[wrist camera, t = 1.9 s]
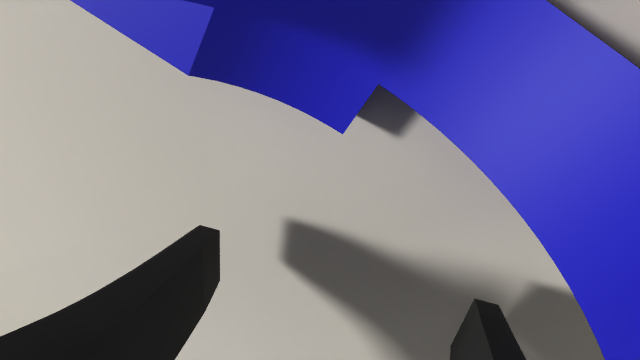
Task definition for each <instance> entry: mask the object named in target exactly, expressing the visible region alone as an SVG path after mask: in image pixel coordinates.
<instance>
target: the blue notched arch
mask: <svg viewBox="0 0 640 360" xmlns="http://www.w3.org/2000/svg"><path fill="white" fill-rule="evenodd" d="M71 1H72V2H74V3H75V4H77V5H79V6H80V7H82V8H83V9H85V10H86V11H88V12H90V13H91V14H93V15H94V16H96V17H97V18H99V19H101V20H102V21H104V22H105V23H107V24H108V25H110V26H111V27H113V28H115V29H116V30H118V31H119V32H121V33H122V34H124V35H126V36H127V37H129V38H130V39H132V40H133V41H135V42H137V43H138V44H140V45H141V46H143V47H144V48H146V49H148V50H149V51H151V52H152V53H154V54H155V55H157V56H159V57H160V58H162V59H163V60H165V61H166V62H168V63H170V64H171V65H173V66H174V67H176V68H177V69H179V70H181V71H182V72H184V73H185V74H187V75H188V76H195V77H200V78H205V79H210V80H215V81H219V82H223V83H227V84H231V85H235V86H239V87H242V88H245V89H248V90H251V91H254V92H257V93H260V94H263V95H265V96H268V97H271V98H273V99H276V100H278V101H281V102H283V103H285V104H287V105H290V106H292V107H294V108H296V109H298V110H300V111H302V112H304V113H306V114H308V115H310V116H312V117H314V118H316V119H318V120H320V121H321V122H323V123H325V124H326V125H328V126H330V127H332V128H333V129H335V130H337V131H338V132H340V133H341V134H343V133H344V132H345V130H346V129H347V127H348V126H349V125H350V123H351V122H352V120H353V119H354V118H355V116H356V115H357V113H358V112H359V111H360V109H361V108H362V106H363V105H364V104H365V102H366V101H367V99H368V98H369V96H370V95H371V94H372V92H373V91H374V89H375V88H376V87H377V85H378V84H379V85H381V86H382V87H384V88H385V89H387V90H388V91H389V92H391V93H392V94H394V95H395V96H396V97H398V98H399V99H401V100H402V101H403V102H405V103H406V104H407V105H409V106H410V107H411V108H412V109H414V110H415V111H416V112H418V113H419V114H420V115H421V116H423V117H424V118H425V119H426V120H428V121H429V122H430V123H431V124H432V125H433V126H435V127H436V128H437V129H438V130H439V131H441V132H442V133H443V134H444V135H445V136H446V137H447V138H448V139H449V140H451V141H452V142H453V143H454V144H455V145H456V146H457V147H458V148H459V149H460V150H461V151H462V152H463V153H464V154H465V155H466V156H468V157H469V158H470V159H471V160H472V161H473V162H474V163H475V164H476V165H477V166H478V168H479V169H480V170H481V171H482V172H483V173H484V174H485V175H486V176H487V177H488V178H489V179H490V180H491V181H492V182H493V183H494V185H495V186H496V187H497V188H498V189H499V190H500V191H501V193H502V194H503V195H504V196H505V197H506V198H507V199H508V201H509V202H510V203H511V204H512V205H513V207H514V208H515V209H516V210H517V212H518V213H519V214H520V215H521V217H522V218H523V219H524V220H525V222H526V223H527V224H528V226H529V227H530V228H531V230H532V231H533V232H534V234H535V235H536V236H537V238H538V239H539V241H540V242H541V243H542V245H543V246H544V248H545V249H546V251H547V252H548V254H549V255H550V257H551V258H552V260H553V261H554V263H555V264H556V266H557V267H558V269H559V271H560V272H561V274H562V276H563V277H564V279H565V280H566V282H567V284H568V285H569V287H570V289H571V291H572V292H573V294H574V296H575V298H576V300H577V302H578V303H579V305H580V307H581V309H582V311H583V312H584V315H585V317H586V319H587V321H588V323H589V325H590V327H591V329H592V331H593V333H594V335H595V337H596V339H597V342H598V344H599V346H600V349H601V351H602V353H603V356H604V358H605V360H640V68H638V67H637V66H636V65H634V64H633V63H632V62H630V61H629V60H627V59H626V58H625V57H623V56H622V55H621V54H619V53H618V52H617V51H615V50H614V49H612V48H611V47H610V46H608V45H607V44H606V43H604V42H603V41H601V40H600V39H599V38H597V37H596V36H595V35H593V34H592V33H590V32H589V31H588V30H586V29H585V28H584V27H582V26H581V25H579V24H578V23H577V22H575V21H574V20H573V19H571V18H570V17H569V16H567V15H566V14H564V13H563V12H562V11H560V10H559V9H558V8H556V7H555V6H553V5H552V4H551V3H549V2H548V1H547V0H71Z"/></svg>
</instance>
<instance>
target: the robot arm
mask: <svg viewBox="0 0 640 360" xmlns="http://www.w3.org/2000/svg"><path fill="white" fill-rule="evenodd" d="M219 281H220V230H216V229H212V228H208V227H205V226H201V225H199V226H198V227H196V228H195V229H193V230H192V231H190V232H189V233H187V234H186V235H184V236H183V237H181V238H180V239H178V240H177V241H176V242H174V243H173V244H171V245H170V246H168V247H167V248H165V249H164V250H162V251H161V252H159V253H158V254H156V255H155V256H153V257H152V258H150V259H149V260H147V261H146V262H144V263H143V264H141V265H140V266H138V267H136V268H135V269H133V270H132V271H130V272H128V273H127V274H125V275H123V276H122V277H120V278H118V279H117V280H115V281H113V282H112V283H110V284H108V285H107V286H105V287H103V288H102V289H100V290H98V291H96V292H94V293H93V294H91V295H89V296H87V297H85V298H83V299H81V300H80V301H78V302H76V303H74V304H72V305H70V306H68V307H66V308H64V309H62V310H60V311H58V312H56V313H53V314H51V315H49V316H47V317H45V318H42V319H40V320H38V321H36V322H33V323H31V324H29V325H26V326H24V327H22V328H19V329H17V330H15V331H13V332H10V333H8V334H5V335H3V336H1V337H0V360H175V358H176V357H177V355H178V354H179V352H180V350H181V349H182V347H183V346H184V344H185V343H186V341H187V339H188V338H189V336H190V335H191V333H192V332H193V330H194V328H195V327H196V325H197V324H198V322H199V320H200V319H201V317H202V316H203V314H204V312H205V310H206V308H207V306H208V304H209V302H210V300H211V298H212V296H213V294H214V292H215V290H216V288H217V285H218V283H219ZM450 360H526V358H525V356H524V354H523V352H522V351H521V349H520V347H519V345H518V343H517V341H516V339H515V337H514V335H513V333H512V331H511V329H510V327H509V325H508V323H507V321H506V319H505V317H504V315H503V313H502V311H501V309H500V307H499V306H498V305H496V304H492V303H489V302H485V301H481V300H477V299H474V301H473V303H472V305H471V307H470V309H469V311H468V313H467V315H466V317H465V319H464V321H463V323H462V325H461V327H460V329H459V331H458V333H457V335H456V337H455V339H454V341H453V343H452V345H451V352H450Z"/></svg>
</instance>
